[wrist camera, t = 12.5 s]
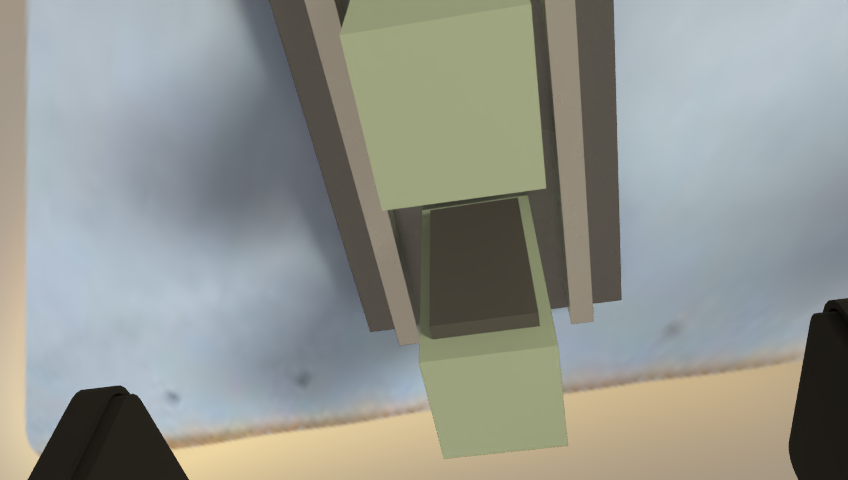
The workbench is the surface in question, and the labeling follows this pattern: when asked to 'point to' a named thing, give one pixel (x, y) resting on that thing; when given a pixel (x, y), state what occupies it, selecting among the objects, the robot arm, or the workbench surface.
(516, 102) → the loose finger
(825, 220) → the workbench surface
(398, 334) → the dark grey tray
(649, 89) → the workbench surface
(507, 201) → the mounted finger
